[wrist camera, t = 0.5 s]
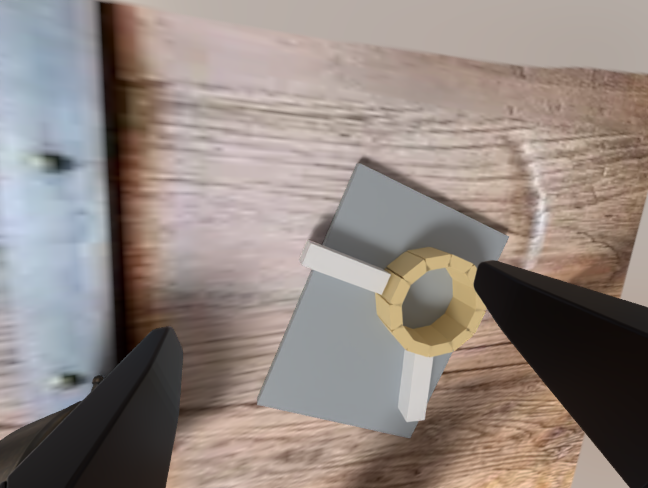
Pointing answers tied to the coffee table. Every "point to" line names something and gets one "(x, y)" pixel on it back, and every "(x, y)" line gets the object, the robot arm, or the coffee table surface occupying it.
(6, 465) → the alarm clock
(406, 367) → the shaft cradle
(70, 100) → the coffee table surface
